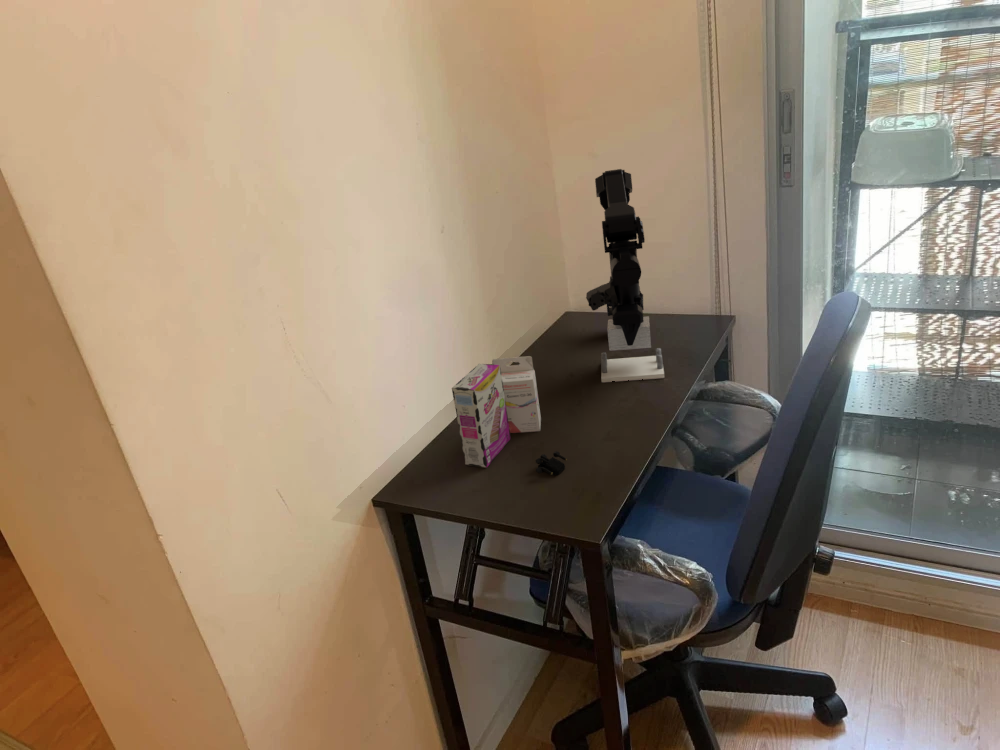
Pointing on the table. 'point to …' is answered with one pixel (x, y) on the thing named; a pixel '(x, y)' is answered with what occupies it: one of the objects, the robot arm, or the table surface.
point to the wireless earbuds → (550, 464)
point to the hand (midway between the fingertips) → (629, 339)
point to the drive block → (619, 341)
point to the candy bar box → (481, 414)
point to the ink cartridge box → (520, 394)
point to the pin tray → (632, 368)
